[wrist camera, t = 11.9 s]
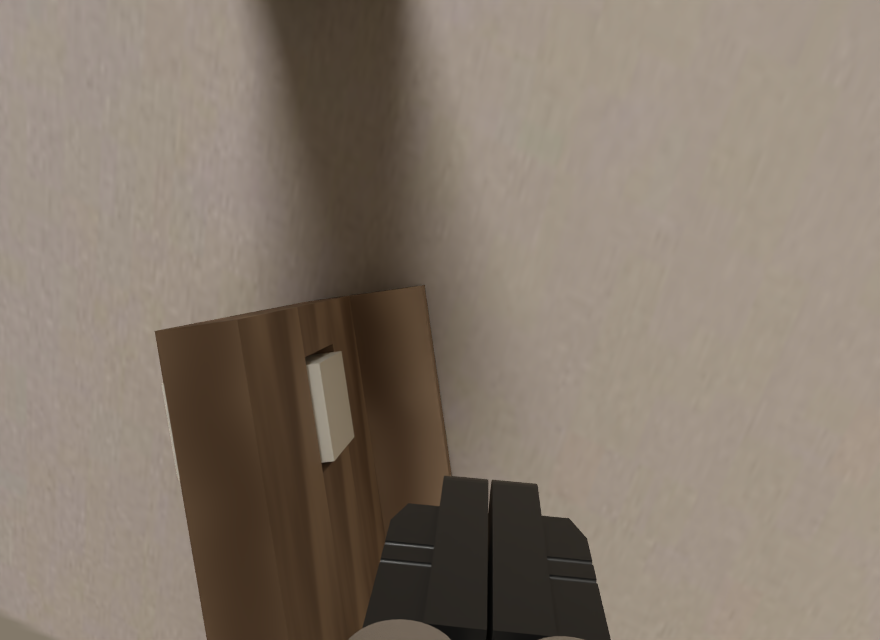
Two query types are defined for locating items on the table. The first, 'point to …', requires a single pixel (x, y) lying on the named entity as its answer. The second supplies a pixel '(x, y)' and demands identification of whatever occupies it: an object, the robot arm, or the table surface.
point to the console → (300, 458)
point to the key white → (321, 405)
